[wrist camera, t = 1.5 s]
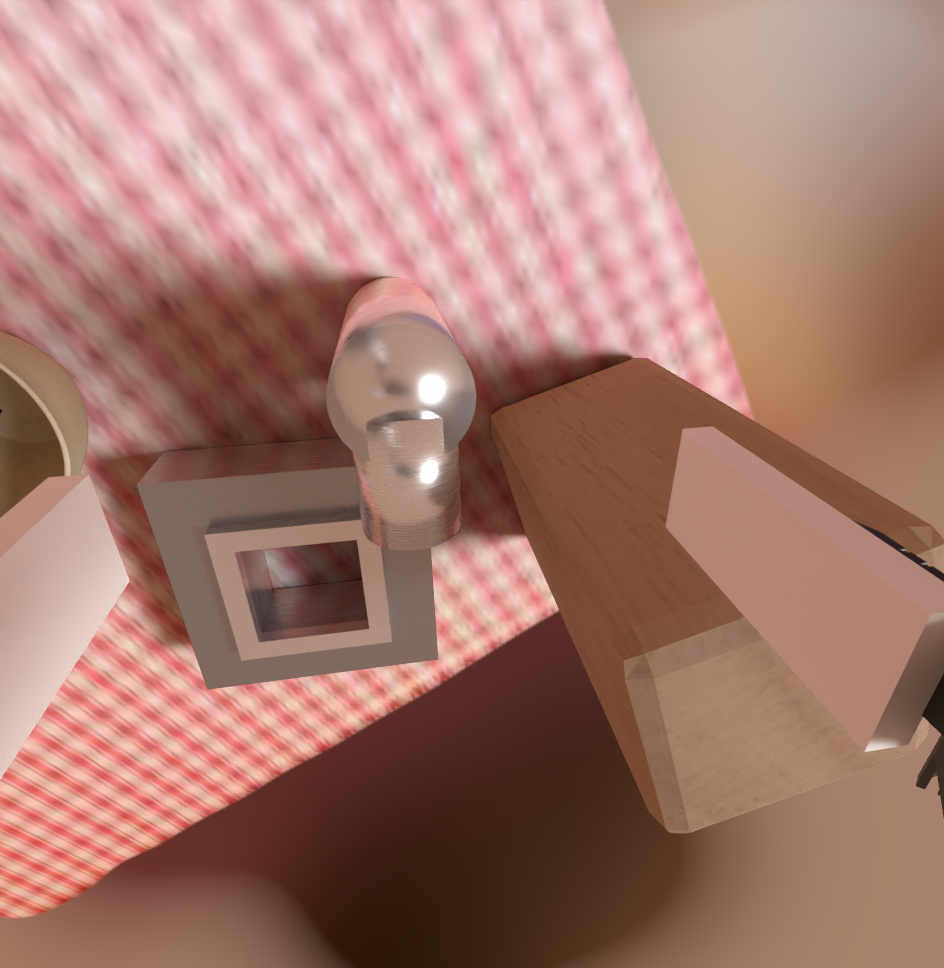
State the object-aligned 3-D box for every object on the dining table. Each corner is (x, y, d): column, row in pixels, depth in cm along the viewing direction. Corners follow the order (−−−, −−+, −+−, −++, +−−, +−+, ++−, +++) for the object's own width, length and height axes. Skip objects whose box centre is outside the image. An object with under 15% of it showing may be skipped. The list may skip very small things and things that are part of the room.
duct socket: (164, 451, 30) (129, 492, 26) (419, 431, 32) (426, 467, 27) (223, 642, 36) (203, 700, 32) (432, 617, 38) (439, 668, 34)
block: (527, 540, 36) (666, 855, 19) (481, 408, 32) (611, 667, 14) (668, 488, 36) (939, 757, 19) (643, 347, 31) (979, 533, 14)
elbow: (338, 279, 27) (313, 333, 16) (437, 275, 28) (477, 323, 17) (357, 431, 31) (347, 557, 20) (444, 424, 32) (480, 543, 21)
